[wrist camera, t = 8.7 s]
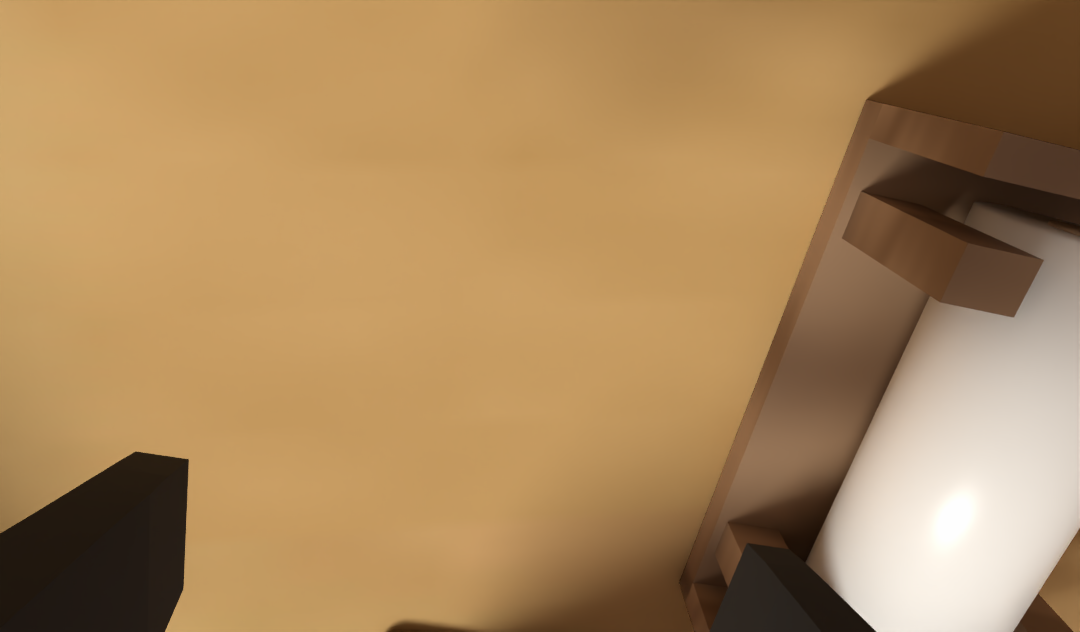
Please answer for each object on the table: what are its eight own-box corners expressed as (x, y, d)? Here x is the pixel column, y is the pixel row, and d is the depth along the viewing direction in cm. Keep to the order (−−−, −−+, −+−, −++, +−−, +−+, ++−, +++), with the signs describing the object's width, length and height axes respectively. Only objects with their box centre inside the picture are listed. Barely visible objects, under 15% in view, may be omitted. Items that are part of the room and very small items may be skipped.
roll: (948, 625, 21) (982, 762, 17) (788, 559, 22) (781, 670, 18) (1174, 246, 17) (1298, 299, 12) (957, 188, 18) (1002, 219, 13)
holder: (958, 622, 24) (1068, 767, 19) (678, 583, 22) (725, 729, 18) (1220, 186, 18) (1463, 244, 14) (866, 99, 17) (1004, 131, 12)
